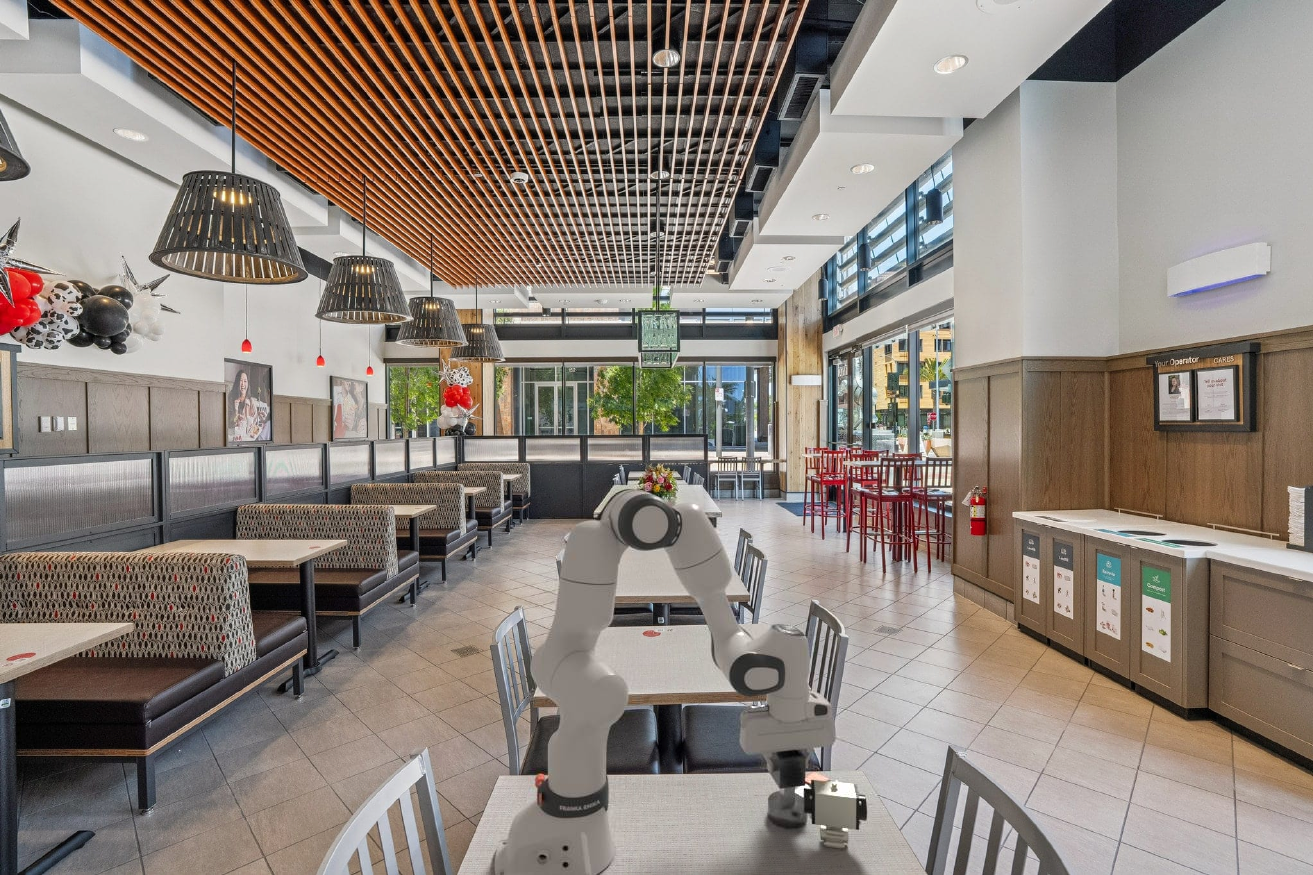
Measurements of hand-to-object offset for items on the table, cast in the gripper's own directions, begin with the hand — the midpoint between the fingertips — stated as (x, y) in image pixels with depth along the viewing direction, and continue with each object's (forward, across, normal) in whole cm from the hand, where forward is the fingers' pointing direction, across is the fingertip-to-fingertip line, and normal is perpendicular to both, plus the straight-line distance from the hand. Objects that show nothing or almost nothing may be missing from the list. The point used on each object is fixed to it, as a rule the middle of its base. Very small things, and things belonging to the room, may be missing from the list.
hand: (787, 768), depth 128 cm
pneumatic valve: (+10, +6, -9) cm, 15 cm away
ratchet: (+10, +4, +3) cm, 11 cm away
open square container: (+2, 0, 0) cm, 2 cm away
